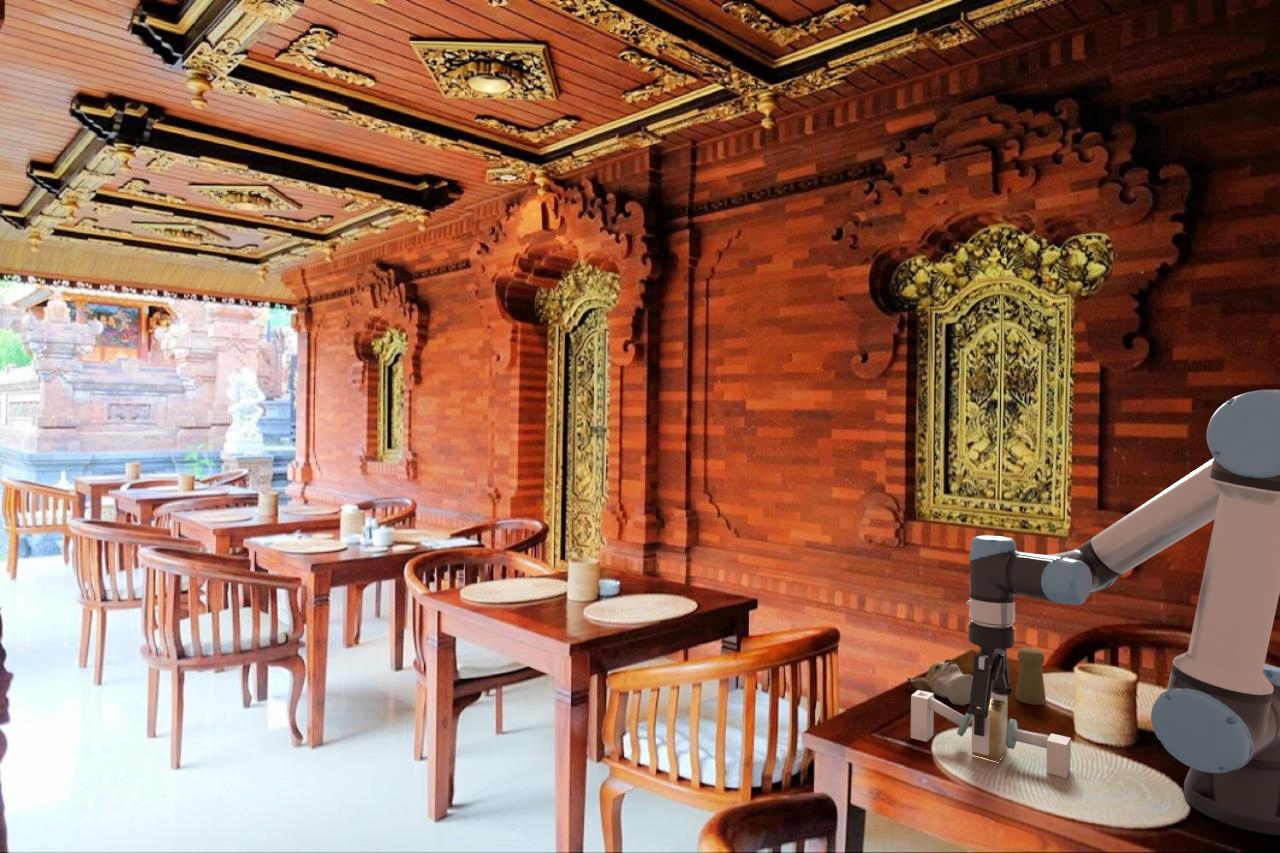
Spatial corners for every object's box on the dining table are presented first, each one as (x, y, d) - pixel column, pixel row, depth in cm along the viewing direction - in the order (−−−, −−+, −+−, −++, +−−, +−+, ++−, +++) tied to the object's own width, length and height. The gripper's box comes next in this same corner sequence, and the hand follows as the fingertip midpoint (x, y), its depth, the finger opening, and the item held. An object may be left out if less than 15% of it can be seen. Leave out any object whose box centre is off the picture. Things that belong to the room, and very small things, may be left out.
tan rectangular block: (972, 756, 136) (972, 706, 136) (981, 745, 141) (981, 696, 141) (998, 763, 133) (999, 712, 133) (1006, 751, 138) (1007, 702, 139)
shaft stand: (1070, 768, 132) (1071, 719, 132) (1065, 778, 128) (1066, 728, 128) (918, 730, 148) (918, 686, 148) (909, 738, 144) (910, 693, 144)
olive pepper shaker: (1008, 697, 167) (1009, 646, 167) (1027, 693, 170) (1028, 644, 170) (1033, 706, 162) (1033, 654, 162) (1052, 702, 164) (1053, 651, 164)
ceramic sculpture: (948, 668, 158) (904, 652, 173) (949, 711, 158) (905, 691, 172) (991, 665, 161) (944, 650, 176) (992, 707, 161) (944, 688, 175)
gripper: (986, 607, 150) (984, 715, 149) (950, 632, 130) (948, 757, 130) (1028, 613, 145) (1027, 725, 145) (997, 640, 125) (995, 770, 125)
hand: (989, 740), depth 137 cm, fingers open, 13 cm apart
